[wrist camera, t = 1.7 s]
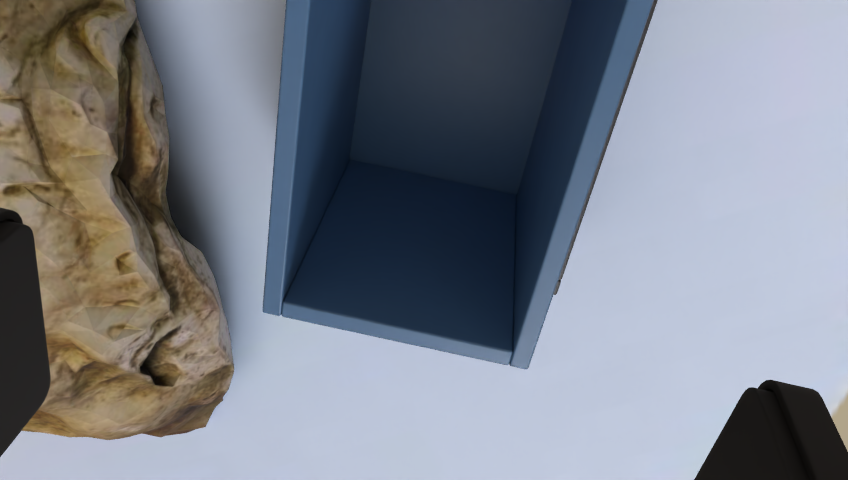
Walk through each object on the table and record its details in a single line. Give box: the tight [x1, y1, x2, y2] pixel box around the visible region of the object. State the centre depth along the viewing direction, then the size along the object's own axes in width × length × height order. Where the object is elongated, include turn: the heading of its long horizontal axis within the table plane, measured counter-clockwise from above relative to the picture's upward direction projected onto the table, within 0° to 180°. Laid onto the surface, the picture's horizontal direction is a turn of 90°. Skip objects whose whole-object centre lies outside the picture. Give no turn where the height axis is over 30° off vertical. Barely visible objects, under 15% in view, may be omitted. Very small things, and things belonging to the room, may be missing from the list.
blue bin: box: [263, 0, 654, 369], centre depth 20 cm, size 12×7×9 cm, turn 170°
